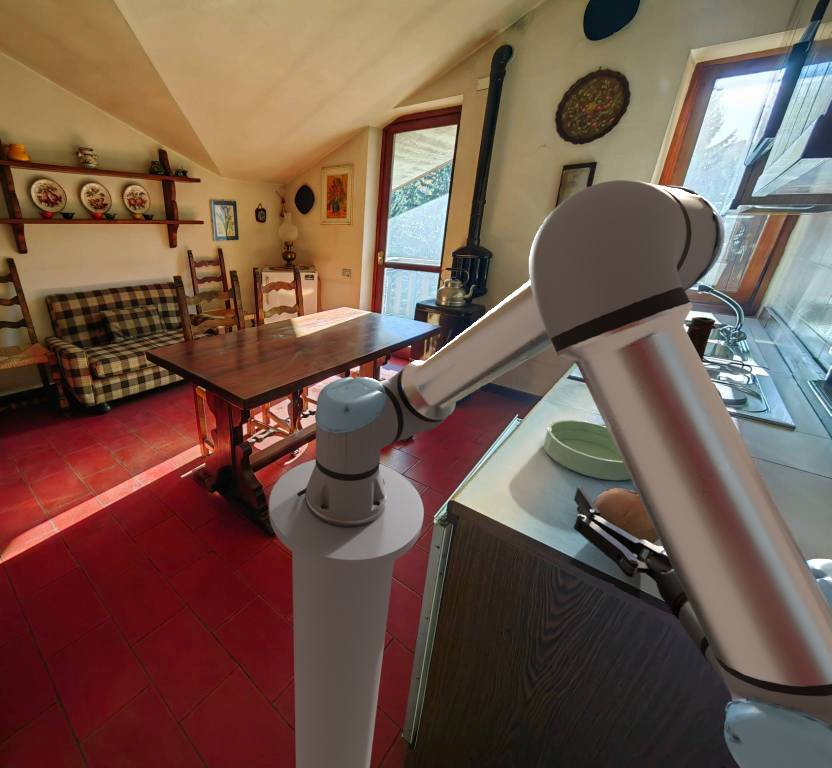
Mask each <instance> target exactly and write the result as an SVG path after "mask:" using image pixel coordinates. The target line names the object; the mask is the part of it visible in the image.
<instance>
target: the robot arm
mask: <svg viewBox="0 0 832 768" xmlns="http://www.w3.org/2000/svg"><path fill="white" fill-rule="evenodd" d="M725 233H726V231H725V225H724V221H723V218H722V216H721V214H720V212H719V211H718V209H717V208H716V207H715V206H714V205H713V204H712V203H711V202H710V201H709V200H708V199H706V198H704V197H703V196H702V195H701V194H700V193H699V192H697V191H695V190H692V189H689V188H687V187H684V186H677V185H671V184H670V185H667V184H666V185H665V184H664V185H658V184H653V183H649V182H646V181H641V180H634V179H615V180H608V181H602V182H599V183H596V184H593V185H590V186H587V187H585V188H583V189H581V190H579V191H576V192H575V193H573V194H572V195H570V196H569V197H567V198H566V199H564V200H563V201H562V202H561V203H559V204H558V205H557V206H556V207H555V208H554V209H553V210H551V212H550V213H549V214H548V216H546V217H545V219H544V220H543V222H542V223H541V225H540V227H539V228H538V230H537V231H536V234H535V236H534V239H533V241H532V244H531V247H530V252H529V257H528V277H529V280H528V281H527V282H525V283H524V284H523V285H522V286H520V287H519V288H518V289H516V290H515V291H514V292H512V294H510V295H508V296H507V297H506V298H505V299H503V300H502V301H501V302H500V303H498V304H497V305H496V306H494V308H492V309H491V310H489V311H488V312H487V313H485V314H484V315H483V316H481V318H479V319H478V320H477V321H476V322H474V323H472V325H470V326H469V327H468V328H466V329H465V330H463V331H462V332H461V333H460V334H459V335H457V336H455V338H454V339H452V340H451V341H450V342H448V343H447V344H446V345H444V346H443V347H442V348H441V349H440V350H438V351H437V352H435V354H433V355H432V356H430V357H429V358H428V359H427V360H419V359H418V360H414V361H410V362H409V363H408V364H406V365H405V366H404V367H403V368H402V369H400V371H398V372H397V373H395V374H394V375H393V376H391V377H389V378H387V379H384V380H380V381H378V380H376V379H374V378H370V377H366V376H356V377H352V376H347V377H342V378H338V379H336V380H333V381H331V382H329V383H328V384H326V385H325V386H324V387H322V388H321V390H320V392H319V393H318V395H317V398H316V407H315V413H314V420H315V459H316V464H315V467H314V469H313V472H312V474H311V477H310V479H309V482H308V484H307V488H305V489H304V490H302V491H300V492H299V493H297V495H298V496H301V495H303V494H305V493H306V505H307V507H308V509H309V511H310V512H311V513H312V514H313V515H314V516H315V517H316V518H317V519H319V520H321V521H322V522H324V523H327V524H329V525H333V526H337V527H343V528H354V527H361V526H365V525H368V524H370V523H372V522H374V521H375V520H377V519H378V518H379V517H380V516H381V515H382V514H383V512H384V510H385V506H386V490H385V487H386V486H385V487H384V485H385V483H384V480H383V478H382V476H381V473H380V469H379V464H380V460H381V450H382V449H383V448H385V447H388V446H390V445H392V444H394V443H397V442H400V441H402V440H405V439H407V438H409V437H412V436H415V435H418V434H420V433H422V432H428V431H430V430H432V429H435V428H437V427H438V426H439V425H440V424H442V423H443V422H444V421H445V420H446V419H447V418H448V417H450V416H451V415H452V413H453V412H454V410H455V408H456V405H457V402H458V401H460V400H462V399H463V398H465V397H467V396H469V395H470V394H473V393H474V392H475V391H477V390H479V389H481V388H482V387H484V386H486V385H487V384H489V383H491V382H493V381H494V380H496V379H498V378H499V377H501V376H503V375H504V374H506V373H508V372H509V371H512V370H514V369H515V368H516V367H518V366H519V365H522V364H523V363H525V362H527V361H528V360H530V359H532V358H533V357H536V356H537V355H539V354H541V353H542V352H544V351H546V350H547V349H549V348H551V347H552V346H553V348H554V350H555V353H556V355H557V356H558V357H561V358H562V359H566V360H568V361H571V362H573V363H574V364H575V365H576V366H577V368H578V370H579V373H580V374H581V376H582V379H583V381H584V383H585V385H586V388H587V389H588V391H589V393H590V395H591V398H592V400H593V402H594V404H595V406H596V408H597V411H598V413H599V414H600V417H601V419H602V421H603V423H604V426H606V427H607V429H608V431H609V434H610V436H611V438H612V440H613V442H614V444H615V446H616V448H617V451H618V453H619V455H620V457H621V459H622V461H623V463H624V465H625V467H626V470H627V472H628V474H629V476H630V480H631V482H632V485H633V487H634V488H635V492H637V493H638V495H639V497H640V499H641V501H642V503H643V505H644V508H645V510H646V512H647V514H648V516H649V518H650V520H651V522H652V525H653V527H654V529H655V531H656V533H657V535H658V537H659V539H658V540H659V541H660V543H661V545H655V544H654V543H653V544H652V543H650V542H648V541H646V540H644V539H642V540H639V539H637V538H635V537H634V536H632V535H630V534H628V533H627V532H625V531H623V530H621V529H620V528H618V527H616V526H614V525H613V524H611V523H609V522H608V521H606V520H604V519H602V518H601V517H599V515H600V512H599V510H598V509H597V507H596V506H595V505H594V501H593V500H592V499H591V497H590V496H589V494H588V493H587V491H586V490H585V489H584V488H583V487H582V486H577V488H576V491H575V495H574V498H573V501H574V502H575V504H576V506H577V507H576V512H577V513H578V514H577V516H576V519H575V522H574V524H573V529H574V530H575V531H576V532H577V533H578V534H580V535H581V536H582V537H583V538H584V539H586V540H587V541H588V542H589V543H590V544H592V545H593V546H594V547H595V548H596V549H598V550H599V551H600V552H602V553H603V554H604V555H605V556H606V557H608V558H609V559H610V560H611V561H612V562H614V563H615V564H616V565H617V567H618V568H619V569H620V570H621V572H622V573H623V574H624V575H625V576H626V577H628V578H634V576H635V574H636V573H637V574H645V575H647V576H648V577H649V578H651V579H652V580H653V581H654V582H655V584H656V587H657V590H658V592H659V593H658V594H659V595H660V597H661V598H662V600H663V602H664V603H665V604H666V605H667V608H669V610H670V611H671V613H672V614H673V615H674V617H675V618H676V619H677V620H678V621H679V623H680V625H681V627H682V628H683V629H684V631H685V632H686V634H687V635H688V637H690V639H691V641H692V642H693V643H694V645H695V646H696V648H697V650H698V651H699V652H700V653H701V655H702V657H704V659H705V661H706V662H707V663H708V664H709V666H710V667H711V668H712V670H713V671H714V673H715V674H716V675H717V677H718V679H719V680H720V682H721V683H722V684H723V686H724V687H725V689H726V691H727V692H728V693H729V695H730V696H731V701H728V702H727V704H726V706H725V708H724V713H725V720H724V729H723V730H724V731H723V733H724V740H725V743H726V746H727V748H728V751H729V753H730V754H731V756H732V758H733V759H734V761H735V762H736V764H737V765H738V766H739V768H832V559H827V558H813V559H806V558H805V556H804V554H803V552H802V550H801V547H800V546H799V544H798V542H797V540H796V538H795V537H794V534H793V533H792V531H791V529H790V527H789V524H788V523H787V521H786V519H785V517H784V516H783V514H782V511H781V510H780V508H779V506H778V504H777V502H776V500H775V499H774V497H773V494H772V492H771V491H770V489H769V486H768V484H767V483H766V481H765V479H764V477H763V475H762V474H761V471H760V469H759V468H758V466H757V464H756V462H755V460H754V458H753V456H752V454H751V452H750V450H749V449H748V447H747V444H746V443H745V441H744V439H743V437H742V436H741V433H740V431H739V429H738V428H737V425H736V424H735V422H734V420H733V418H732V416H731V414H730V412H729V410H728V409H727V407H726V405H725V403H724V401H723V398H722V399H721V397H720V395H719V393H718V391H717V389H718V388H717V386H716V385H715V386H716V387H715V386H714V384H715V383H714V382H713V380H712V378H711V376H710V374H709V373H708V370H707V369H706V366H705V365H704V362H702V361H701V359H700V357H699V355H698V353H697V351H696V349H695V347H694V345H693V344H692V342H691V340H690V338H689V336H688V334H687V330H686V329H685V321H686V319H687V317H688V316H689V314H690V312H691V310H692V309H693V307H694V306H693V304H692V302H691V300H690V298H689V297H688V296H689V295H688V294H687V293H686V292H687V291H688V290H690V289H692V288H693V287H695V286H696V285H697V284H698V283H699V282H700V281H701V280H703V278H705V276H707V275H708V274H709V273H710V271H711V270H712V269H713V268H714V267H715V265H716V263H717V262H718V260H719V258H720V256H721V253H722V251H723V247H724V244H725ZM713 383H714V384H713ZM716 388H717V389H716ZM645 550H647V551H648V552H647V554H646V557H645V558H644V557H643V554H644V552H645Z"/></svg>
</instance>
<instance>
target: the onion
mask: <svg viewBox="0 0 832 768" xmlns="http://www.w3.org/2000/svg"><path fill="white" fill-rule="evenodd" d="M593 503H594V505H595V506H596V507H597V509H598V510H599V512H600V515H599V517H601V518H602V519H604V520H606V521H608V522H609V523H611V524H613V525H614V526H616V527H618V528H620V529H621V530H623V531H625V532H627V533H628V534H630V535H632V536H634V537H635V538H637V539H639V540H642V539H644V540H646V541H648V542H650V543H652V544H653V545H654V544H655V543H656V542H657V541H659V540H660V539H659V537H658V535H657V533H656V531H655V529H654V527H653V525H652V522H651V520H650V518H649V516H648V514H647V512H646V510H645V508H644V505H643V503H642V501H641V499H640V497H639V495H638V493H637V491H633V490H629V489H627V488H619V487H617V488H616V487H615V488H609V489H606V490H604V491H603V492H601V493H600V494H598V496H596V497H595V499H594V500H593Z"/></svg>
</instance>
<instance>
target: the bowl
mask: <svg viewBox="0 0 832 768" xmlns="http://www.w3.org/2000/svg"><path fill="white" fill-rule="evenodd" d="M543 449H544V451H545V452H546V454H547V455H548V456H549V457H550V458H552V460H553V461H555V462H557V463H558V464H560V465H562V466H563V467H565V468H567V469H569V470H571V471H574V472H577V473H579V474H581V475H585V476H588V477H593V478H596V479H599V480H600V479H601V480H609V481H627V480H631V478H630V476H629V474H628V472H627V470H626V467H625V465H624V463H623V461H622V459H621V457H620V455H619V453H618V451H617V448H616V446H615V444H614V442H613V440H612V438H611V436H610V434H609V431H608V429H607V427H606V425H603V424H599V423H595V422H589V421H586V420H578V419H577V420H575V419H562V420H557V421H554V422H552V423H551V424H549V425H548V426H547V429H546V434H545V437H544V440H543Z"/></svg>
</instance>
